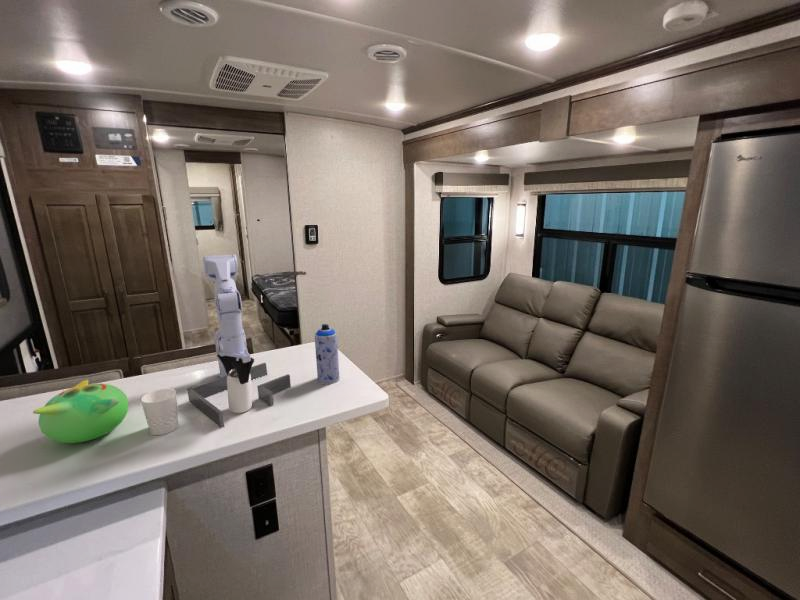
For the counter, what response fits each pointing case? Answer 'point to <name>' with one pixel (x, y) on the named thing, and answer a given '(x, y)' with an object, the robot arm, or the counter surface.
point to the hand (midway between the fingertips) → (238, 379)
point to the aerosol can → (327, 355)
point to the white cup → (161, 411)
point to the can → (238, 393)
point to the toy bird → (83, 412)
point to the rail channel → (220, 384)
